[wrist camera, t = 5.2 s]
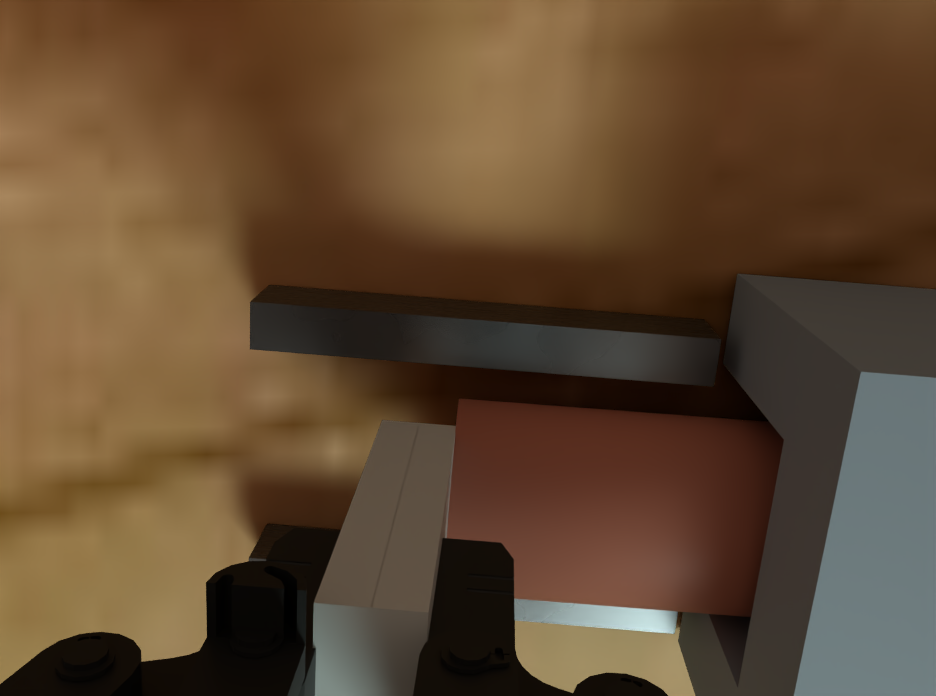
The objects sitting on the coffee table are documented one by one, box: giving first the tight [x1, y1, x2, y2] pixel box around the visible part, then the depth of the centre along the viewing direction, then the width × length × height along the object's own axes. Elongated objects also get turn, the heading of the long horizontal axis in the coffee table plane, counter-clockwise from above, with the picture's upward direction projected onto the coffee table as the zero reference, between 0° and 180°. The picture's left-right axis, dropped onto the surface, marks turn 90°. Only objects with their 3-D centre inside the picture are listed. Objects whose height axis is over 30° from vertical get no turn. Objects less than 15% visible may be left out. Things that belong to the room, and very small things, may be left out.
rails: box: [249, 285, 721, 634], centre depth 20 cm, size 10×7×2 cm
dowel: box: [447, 398, 784, 617], centre depth 19 cm, size 10×4×4 cm, turn 86°
